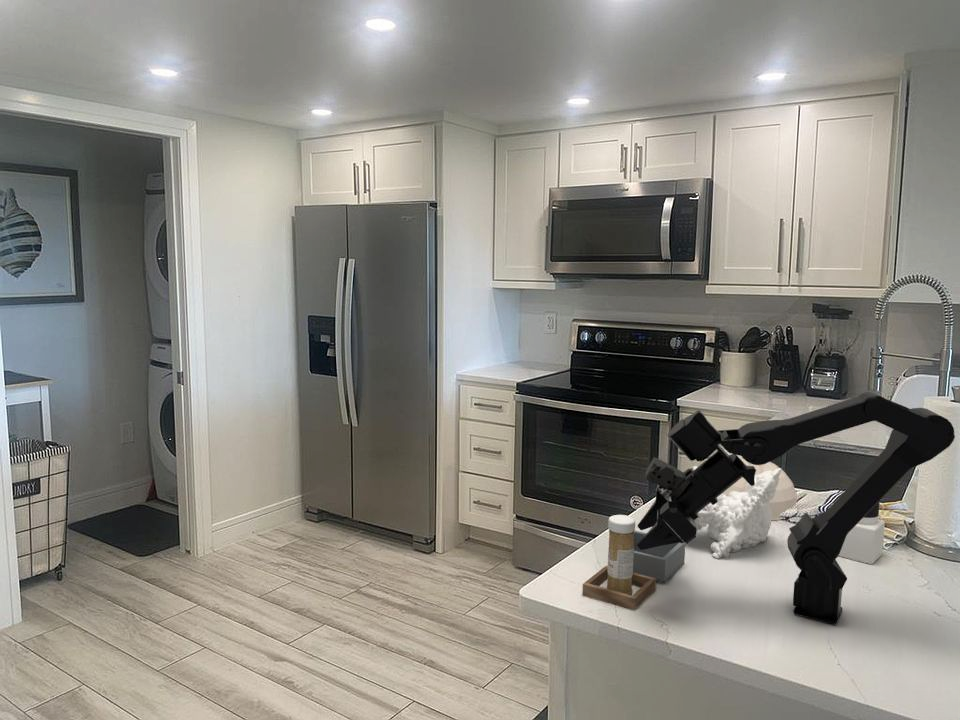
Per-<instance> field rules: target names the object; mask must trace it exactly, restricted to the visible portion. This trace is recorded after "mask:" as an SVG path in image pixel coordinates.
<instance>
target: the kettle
mask: <svg viewBox="0 0 960 720" xmlns="http://www.w3.org/2000/svg"><path fill="white" fill-rule="evenodd" d="M740 459H741V460H742V461H743V462H744V463H745V464H746V465H747V466H754V467H755V469H756V472H755V475H758V474H760V473H762V472H765V471H769V470H771V471H773V470H775V469H779V468H780V467H779V466H778V465H776V464H775V463H774V462H772V461H770V462H768V463H766V464H763V465H753V464H751V463H749V462H747V461H746V460H744V459H743V458H742V457H741V458H740ZM746 483H747V481H746V480H745V479H744V478H743V477H742V478H741V479H739V480H738V481H737V482H736V483H734V484H733V485H732V486H731V487H729V488H728V489H727V490H726V491H724V492H723V494H725V495H726V496H729V493H730V492H733V491H737V492H746V491H745V485H746ZM796 503H797V504H798V495H797V491H796V489H795V486H794V483H793V481H792V480H791V479H790V477H789V475H787V473H786V472H785V471H784V470H783V469H782V470H781V473H780V476H779V482H778V485H777V488H776V491H775V495H774V497H773V499H771V500H770V501H769V502H768V503H761V504H766V505H768V506H769V507H770V509H771V512H772V519H771V522H772V521H782V520H781V517H780V514H781V513H783V512H785V511H786V510H787V509H790V508H792V507H793V506H794V505H796Z"/></svg>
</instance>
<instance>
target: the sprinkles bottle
mask: <svg viewBox="0 0 960 720" xmlns="http://www.w3.org/2000/svg"><path fill="white" fill-rule="evenodd" d="M607 528H608V532H609V533H608V536H609V537H608V552H607V553H608V554H607V566H608V571H607V572H608V579H607V580H606V581H607V584H606V588H607V589H610V590H614V591H617V592H621V593H624V594H628V595H632V594H633V585H632V575H633V554H634V531H636V519H635V518H634V517H632V516H630V515H625V514H615V515H611V516H610V517H609V518H608V526H607Z"/></svg>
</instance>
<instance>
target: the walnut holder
mask: <svg viewBox="0 0 960 720" xmlns="http://www.w3.org/2000/svg"><path fill="white" fill-rule="evenodd" d="M607 571H608V564H607V565H605V566H603V567H602V568H601V569H600V570H599V571H597V572H596V573H595V574H593V575H592V576H591V577H590V578H589V579H587V580H586V581H585V582H584V583H582V594H581V595H582V596H585V597H588V598H591V599H596V600H598V601H602V602H605V603H608V604H609V603H610V604H612V605H616V606H619V607H621V608H622V607H623V608H626V609H629V610H633V611H636V609H637V608H639V606H640V605H642V604H643V602H645V600H646V599H648V598H649V597H650V595H652V594H653V592H655V591H656V589H657V582H656V578H653V577H649V576H645V575H641V574H637V573H634V572H633V575H632V586H635V587H639V588H638V590H637V591H636V592H635V593H633V595H632V594H631V595H628V594H624V593H621V592H617V591H614V590H610V589H607V587H603V586H601V585H602V584H604V582H606V581H608V572H607Z"/></svg>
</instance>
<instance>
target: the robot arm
mask: <svg viewBox="0 0 960 720" xmlns="http://www.w3.org/2000/svg"><path fill="white" fill-rule="evenodd" d="M706 417H707V416H705V414H704V413H703V412H702V411H701V410H698V409H697V410H696V411H695V412H694V413H692V414H690V415H688V416H687V417H684V418H682V419H680V421H678V422H676V424H674V426H673V427H672V428H671V429H670V430H669V431H668V433H667V437H668V439H670V441H671V442H672V443H673V444H674V445H676V447H677V448H678V449H679V450H680V451H681V452H682V453H683V454H684V455H685V456H686V458H688V459H689V461H690V462H691V461H692V462H693V461H695V460H696V462H702V463H701V464H700V465H699V466H697V468H696V469H695V470H693V467H691V468H687V469H686V470H685V471H682V470H680V469H678V468H677V467H675V466H673V465H672V464H669V463H667V462H665V461H663V459H660V458H657V457H653V458H652V460H651V462H650V464H649V465H648V467H647V468H646V470H645V476H644V477H645V479H646V481H648V482H649V483H651V484H656V485H657V486H656V488H655V500H654V502H653V503H652V504H651V506H650V507H649V509H648V510H647V511H646V513H645V514H644V516H643V517H642V518H641V520H640V521H639V523H637V528H638V529H639V530H640V531H644V530H646V529H649V530H648V531H647V532H646V533H647V534H646V535H645V536H644V537H643V538H642V539H641V540H640V542H639V543H638V544H637V546H638V548H639V549H640V550H644V549H649V548H653V547H658V546H663V545H668V544H674V543H684V542H685V544H687V545H688V544H689V543H690V542H692V541H693V540H694V539H696V537H697V531H698V530H697V529H696V524H695V521H694V520H695V519H697V518H698V517H699V516H698V512H700V511H701V510H702V509H703V508H706V506H707V505H708V504H710V503H711V504H712V505H714V504H715V503H717V502H718V500H717V497H718V496H720V495H721V494H722V493H723V492H724V491H726V490H727V489H728V488H729V487H731V486H732V485H733V484H734V483H736V482H737V481H738V480H739V479H741V478H742V477H743V478H744V479H745V480H746V481H747V482H748V483H749V484H750V485H751V486H754V484H755V481H754V477H755V472H756V469H755V467H754V466H747V465H746V464H745V463H744V462H743V461H742V460H741V458H743V459H744V460H746V461H747V462H749V463H751V464H753V465H763V464H766V463H768V462H772V461H774V460H775V459H776V460H777V458H780V457H782V456H783V455H785V454H787V453H789V451H791V450H792V449H794V448H795V447H797V446H799V445H801V444H804V443H806V442H810V441H813V440H816V439H820V438H822V437H826V436H830V435H832V434H833V435H834V434H836V433H839V432H842V431H845V430H849V429H851V428H854V427H858V426H862V425H864V424H868V423H872V422H877V423H879V424H882V425H884V426H886V427H888V428H890V429H892V430H891V432H890V435H889V438H888V440H887V443H886V445H885V448H884V449H883V450H882V451H881V452H880V454H878V456H876V458H875V459H874V460H873V461H872V462H871V463H870V464H869V465H868V466H867V467H866V468H865V469H864V471H862V472H861V473H860V474H859V476H857V478H856V479H855V480H854V481H853V482H852V483H851V484H850V485H849V486H848V487H847V488H846V489H845V490H844V491H843V492H842V493H841V495H840V496H839V497H837V499H836V500H835V501H834V502H833V503H832V504H831V505H830V506H829V507H828V508H827V509H826V510H825V511H824V512H822V513H821V514H819V515H816V516H814V517H812V516H810V514H809V513H808V512H805V513H804V514H803V515H802V516H801V517H800V519H799V520H798V521H797V523H795V524H794V525H793V526H791V527H789V528H788V529H789V531H790V533H789V535H788V536H787V539H786V543H787V548H788V551H789V553H790V555H791V557H792V559H793V561H794V563H795V565H796V567H797V568H798V569H799V571H800V572H799V574H798V575H797V576H798V577H797V578H796V580H795V581H794V583H793V594H792V595H793V596H792V597H793V598H792V606H793V607H794V609H793V614H794V615H796V616H800V617H803V618H808V619H811V620H816V621H820V622H824V623H827V624H831V625H838V622H839V620H840V617H841V615H842V613H843V609H844V608H843V607H842V594H843V588H844V587H845V585H846V582H847V580H848V577H847V576H846V574H845V573H844V571H843V569H842V568H841V566H840V565H839V563H838V561H837V558H838V557H839V556H838V555H839V554H840V551H841V549H842V546H843V544H844V541H845V538H846V536H847V534H848V533H849V532H850V531H851V530H852V529H853V528H854V527H855V526H856V525H857V524H858V523H859V522H860V520H861V519H862V518H863V517H864V516H865V515H866V514H867V513H868V512H869V511H870V510H871V509H872V508H873V507H874V506H875V505H876V504H877V503H878V502H879V503H880V501H881V500H882V499H883V498H884V497H885V496H886V495H887V494H888V493H889V492H890V491H891V490H892V489H893V488H894V486H896V485H897V484H898V482H899V481H901V479H903V477H904V476H906V475H907V473H908V472H909V471H911V470H912V469H913V468H916V467H918V466H921V465H923V464H924V463H927V462H929V461H931V460H934V459H935V458H936V457H937V456H938V455H940V454H941V453H942V452H944V451H946V449H947V450H948V448H949V447H950V446H951V445H952V444H953V442H954V441H955V437H956V436H955V428H954V426H953V424H952V422H950V420H948V418H946V417H944V416H942V415H940V414H938V413H936V412H934V411H932V410H930V409H928V408H925V407H915V408H914V407H912V408H909V407H907V406H904V405H902V404H899V403H897V402H895V401H893V400H890V399H887V398H886V397H883V396H881V395H880V394H878V393H876V392H874V391H873V392H872V391H867V392H863V393H861V394H859V395H858V396H856V397H852V398H849V399H845V400H842V401H839V402H836V403H833V404H831V405H828V406H824V407H822V408H821V407H820V408H818V409H815V410H812V411H809V412H806V413H802V414H799V415H796V416H793V417H791V418H785V419H769V420H762V421H756V422H755V421H754V422H749V423H746V424H743V425H741V426H740V427H739V428H735V429H734V428H733V429H719V430H717V429H716V428H715V426H714V425H713V424H712V423H711V422H710V421H709V420H708V419H707V418H706ZM728 453H729V454H728ZM740 457H741V458H740Z"/></svg>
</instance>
